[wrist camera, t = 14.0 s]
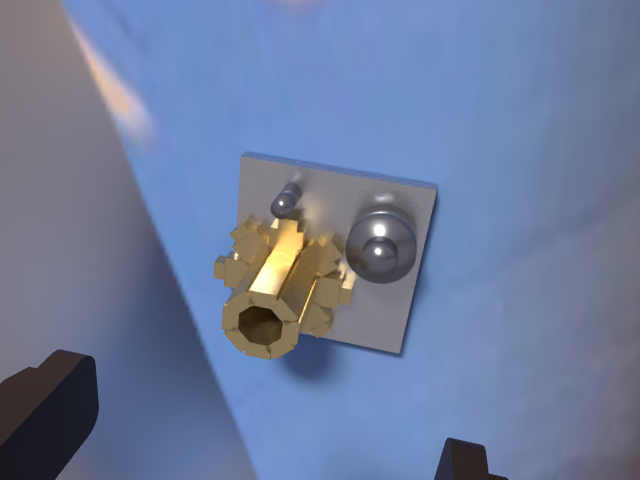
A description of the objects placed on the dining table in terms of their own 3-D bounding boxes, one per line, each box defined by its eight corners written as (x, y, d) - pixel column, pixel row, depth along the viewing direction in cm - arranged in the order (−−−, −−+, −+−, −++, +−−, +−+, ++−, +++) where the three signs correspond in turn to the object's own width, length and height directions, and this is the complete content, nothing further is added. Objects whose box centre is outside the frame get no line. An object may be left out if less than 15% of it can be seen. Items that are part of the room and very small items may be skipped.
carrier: (436, 184, 38) (438, 215, 33) (400, 344, 44) (396, 391, 39) (245, 151, 39) (218, 175, 34) (236, 310, 45) (211, 351, 40)
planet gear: (363, 226, 39) (351, 271, 32) (343, 345, 43) (328, 405, 37) (222, 200, 40) (184, 238, 34) (217, 319, 45) (182, 372, 38)
